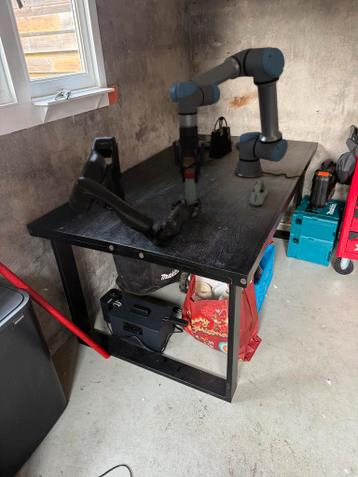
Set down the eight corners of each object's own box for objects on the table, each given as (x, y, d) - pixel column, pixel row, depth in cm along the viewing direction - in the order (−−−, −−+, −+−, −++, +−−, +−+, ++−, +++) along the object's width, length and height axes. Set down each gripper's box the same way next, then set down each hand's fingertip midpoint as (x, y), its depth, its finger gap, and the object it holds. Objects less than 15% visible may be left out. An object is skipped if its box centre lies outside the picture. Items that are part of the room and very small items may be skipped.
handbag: (220, 159, 217) (220, 119, 204) (207, 157, 221) (207, 119, 208) (232, 151, 231) (233, 113, 219) (221, 150, 236) (221, 113, 223)
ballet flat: (269, 188, 169) (270, 173, 165) (265, 208, 149) (266, 191, 145) (252, 187, 171) (253, 172, 167) (246, 206, 151) (247, 190, 147)
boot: (199, 157, 223) (198, 126, 213) (193, 168, 203) (192, 135, 193) (186, 157, 225) (185, 126, 215) (179, 168, 205) (177, 135, 195)
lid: (185, 179, 136) (185, 174, 135) (183, 175, 141) (182, 170, 140) (197, 178, 137) (197, 172, 136) (194, 174, 141) (194, 168, 140)
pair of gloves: (198, 151, 236) (198, 144, 233) (184, 143, 256) (183, 137, 254) (234, 145, 246) (235, 137, 243) (218, 138, 266) (218, 131, 263)
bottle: (185, 213, 149) (183, 172, 140) (195, 211, 150) (193, 170, 140) (188, 217, 145) (186, 175, 136) (197, 215, 146) (196, 174, 137)
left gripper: (164, 222, 137) (178, 205, 151) (197, 226, 133) (208, 208, 146) (163, 205, 133) (177, 190, 147) (197, 209, 129) (208, 192, 143)
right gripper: (213, 123, 129) (213, 180, 140) (170, 123, 134) (173, 177, 146) (208, 127, 123) (208, 186, 134) (163, 127, 128) (167, 183, 140)
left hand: (193, 199), depth 147 cm, fingers closed on bottle, 4 cm apart
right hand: (190, 181), depth 140 cm, fingers closed on lid, 5 cm apart
